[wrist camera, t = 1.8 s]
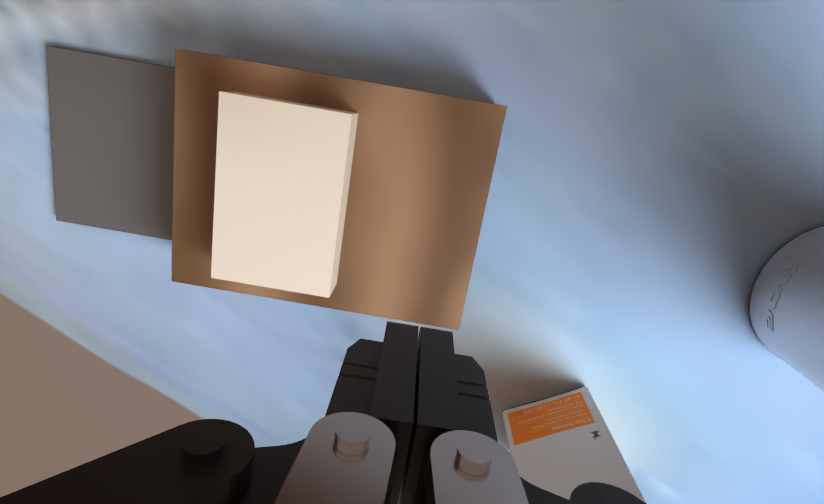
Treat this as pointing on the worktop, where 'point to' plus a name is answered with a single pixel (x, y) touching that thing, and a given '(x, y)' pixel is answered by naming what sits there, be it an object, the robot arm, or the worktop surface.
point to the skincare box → (565, 445)
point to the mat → (112, 142)
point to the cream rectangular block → (280, 192)
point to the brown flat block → (353, 186)
